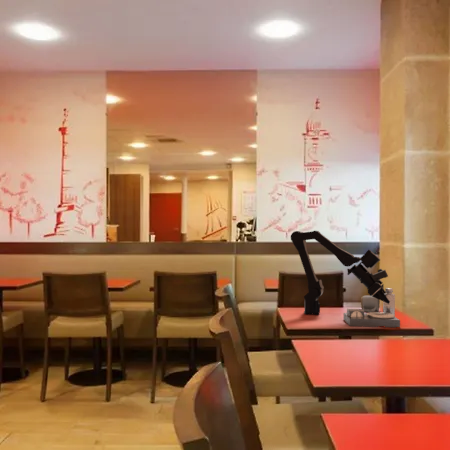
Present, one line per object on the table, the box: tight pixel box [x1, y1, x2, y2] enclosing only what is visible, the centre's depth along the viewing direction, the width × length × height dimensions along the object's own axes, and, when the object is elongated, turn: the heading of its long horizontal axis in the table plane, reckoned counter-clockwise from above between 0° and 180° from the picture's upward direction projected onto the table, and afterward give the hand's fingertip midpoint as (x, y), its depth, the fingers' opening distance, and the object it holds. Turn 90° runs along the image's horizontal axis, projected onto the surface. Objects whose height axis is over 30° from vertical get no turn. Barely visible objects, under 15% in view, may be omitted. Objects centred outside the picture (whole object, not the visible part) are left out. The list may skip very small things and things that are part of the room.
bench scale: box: [343, 308, 401, 328], centre depth 211 cm, size 20×15×6 cm
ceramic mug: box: [360, 295, 380, 313], centre depth 245 cm, size 11×8×8 cm
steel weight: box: [382, 287, 396, 317], centre depth 223 cm, size 5×5×14 cm
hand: (389, 301), depth 223 cm, fingers open, 9 cm apart
